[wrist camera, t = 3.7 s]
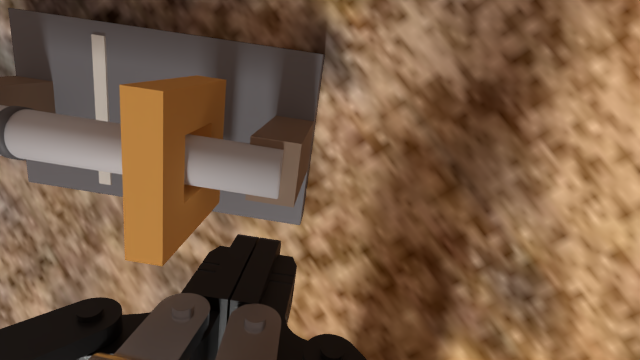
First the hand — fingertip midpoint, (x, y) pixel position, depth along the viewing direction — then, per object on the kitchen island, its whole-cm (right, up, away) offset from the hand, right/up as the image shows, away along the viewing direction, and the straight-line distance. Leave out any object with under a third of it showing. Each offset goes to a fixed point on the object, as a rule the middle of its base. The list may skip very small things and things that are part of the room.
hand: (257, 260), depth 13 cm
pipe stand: (-10, +8, +19) cm, 23 cm away
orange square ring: (-6, +6, +14) cm, 16 cm away
